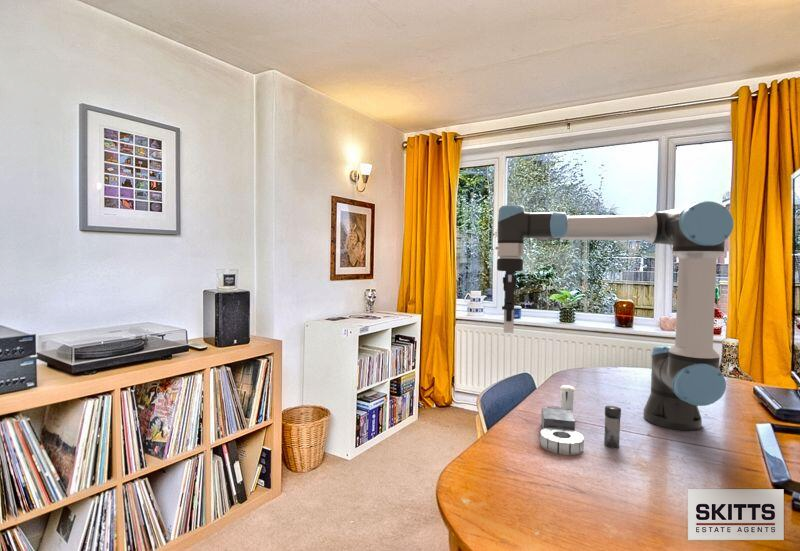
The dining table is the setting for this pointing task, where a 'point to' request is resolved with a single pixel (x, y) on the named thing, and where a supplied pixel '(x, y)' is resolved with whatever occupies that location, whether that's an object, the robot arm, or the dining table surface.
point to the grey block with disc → (560, 432)
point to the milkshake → (567, 397)
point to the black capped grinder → (612, 426)
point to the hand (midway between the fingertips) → (508, 328)
